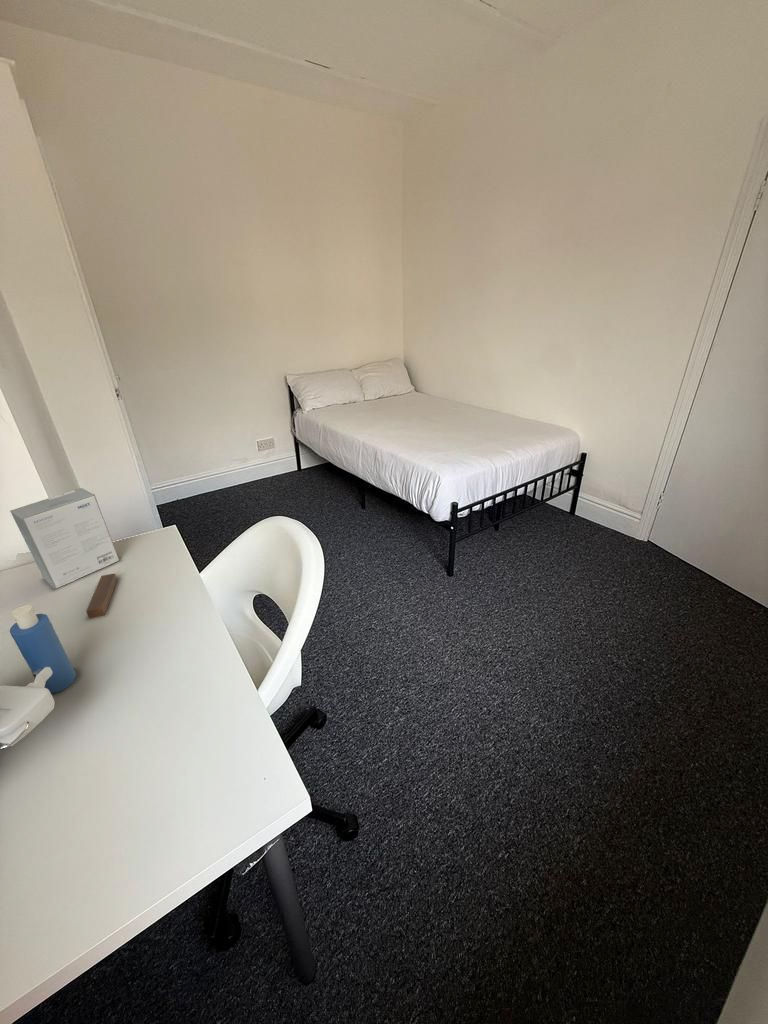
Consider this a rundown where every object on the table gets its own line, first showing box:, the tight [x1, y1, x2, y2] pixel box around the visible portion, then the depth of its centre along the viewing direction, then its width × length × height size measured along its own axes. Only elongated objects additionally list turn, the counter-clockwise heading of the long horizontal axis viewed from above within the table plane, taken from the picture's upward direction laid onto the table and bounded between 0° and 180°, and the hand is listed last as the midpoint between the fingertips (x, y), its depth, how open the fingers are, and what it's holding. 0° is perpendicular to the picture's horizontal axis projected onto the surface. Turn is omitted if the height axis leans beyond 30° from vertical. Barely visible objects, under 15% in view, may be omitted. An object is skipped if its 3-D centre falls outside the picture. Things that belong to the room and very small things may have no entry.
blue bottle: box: [9, 604, 77, 695], centre depth 73 cm, size 5×5×17 cm
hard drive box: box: [9, 487, 120, 590], centre depth 104 cm, size 16×8×20 cm, turn 144°
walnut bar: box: [85, 573, 118, 619], centre depth 98 cm, size 3×14×2 cm, turn 20°
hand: (20, 667), depth 69 cm, fingers open, 8 cm apart
